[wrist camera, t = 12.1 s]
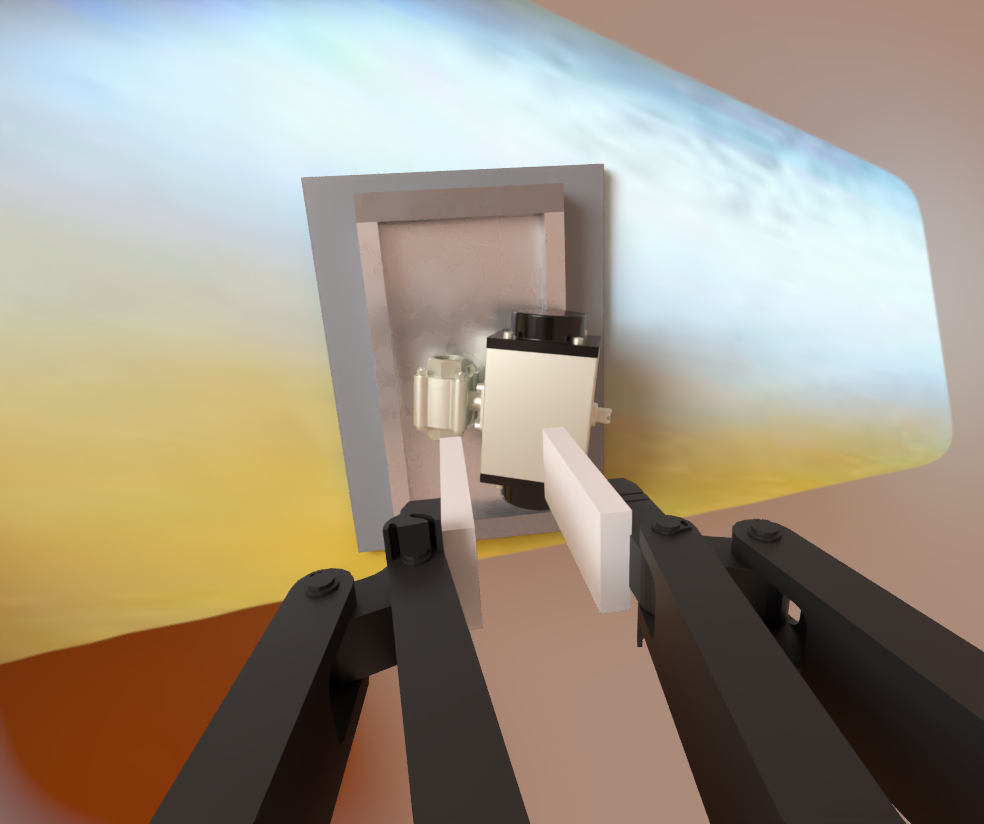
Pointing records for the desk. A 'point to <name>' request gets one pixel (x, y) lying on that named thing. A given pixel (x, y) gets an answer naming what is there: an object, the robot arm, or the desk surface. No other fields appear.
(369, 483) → the mounting board
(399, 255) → the shallow rectangular tray
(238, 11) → the desk surface
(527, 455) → the pneumatic valve
